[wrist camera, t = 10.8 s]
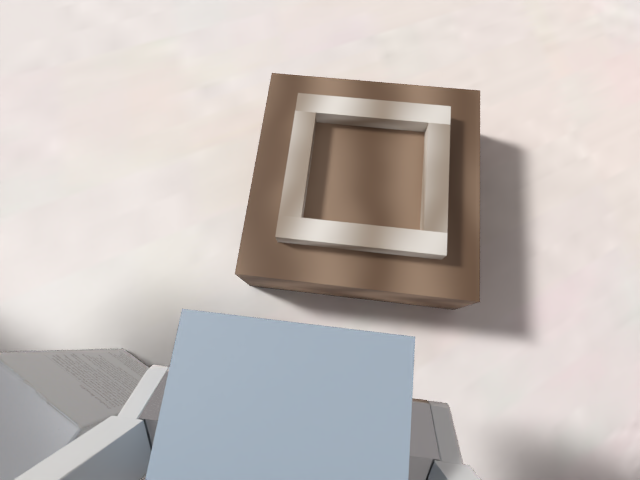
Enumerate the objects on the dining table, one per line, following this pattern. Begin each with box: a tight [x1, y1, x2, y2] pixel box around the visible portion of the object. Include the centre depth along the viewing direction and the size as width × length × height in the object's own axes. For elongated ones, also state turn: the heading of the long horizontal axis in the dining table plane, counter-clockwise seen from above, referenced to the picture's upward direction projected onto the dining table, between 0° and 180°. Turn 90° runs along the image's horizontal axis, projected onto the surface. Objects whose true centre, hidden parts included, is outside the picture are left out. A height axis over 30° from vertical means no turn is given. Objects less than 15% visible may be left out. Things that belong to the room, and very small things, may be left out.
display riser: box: [235, 73, 480, 309], centre depth 28 cm, size 16×16×6 cm
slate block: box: [145, 309, 415, 480], centre depth 11 cm, size 5×5×8 cm
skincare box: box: [0, 348, 149, 480], centre depth 22 cm, size 6×4×12 cm
